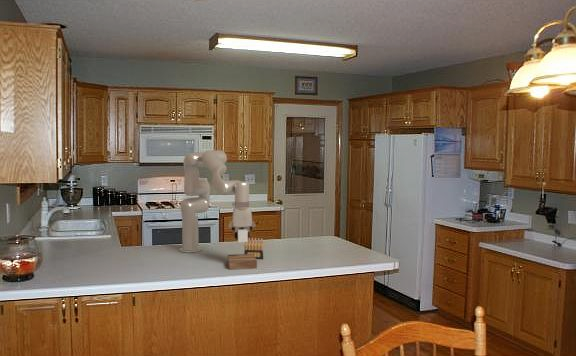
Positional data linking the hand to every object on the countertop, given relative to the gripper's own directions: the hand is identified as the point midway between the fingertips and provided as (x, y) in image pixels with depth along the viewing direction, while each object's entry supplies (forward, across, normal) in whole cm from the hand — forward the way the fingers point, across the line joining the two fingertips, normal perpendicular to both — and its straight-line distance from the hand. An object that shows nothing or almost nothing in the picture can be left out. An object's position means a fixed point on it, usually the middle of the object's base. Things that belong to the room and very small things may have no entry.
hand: (242, 238), depth 268 cm
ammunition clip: (+14, +8, +14) cm, 22 cm away
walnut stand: (+14, 0, 0) cm, 14 cm away
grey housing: (+1, 0, 0) cm, 1 cm away
